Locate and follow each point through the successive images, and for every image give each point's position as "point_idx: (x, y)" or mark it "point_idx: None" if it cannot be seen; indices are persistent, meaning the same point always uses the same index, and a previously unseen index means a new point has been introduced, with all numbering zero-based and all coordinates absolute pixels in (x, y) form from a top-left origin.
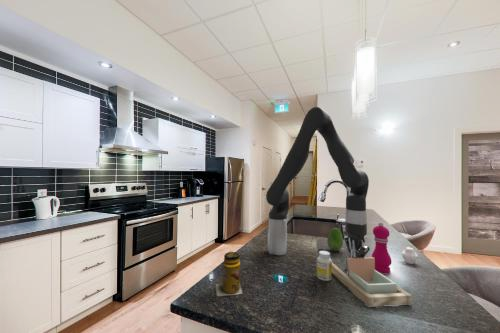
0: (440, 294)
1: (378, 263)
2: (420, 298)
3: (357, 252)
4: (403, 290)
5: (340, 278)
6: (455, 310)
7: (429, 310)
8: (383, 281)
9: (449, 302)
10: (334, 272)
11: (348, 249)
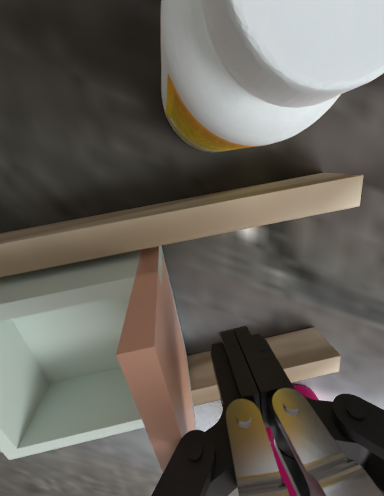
0: (126, 487)
1: None
2: (84, 442)
3: (287, 467)
4: None
5: (176, 203)
6: (37, 487)
7: None
8: (93, 404)
9: (82, 489)
10: (251, 189)
11: (375, 418)
